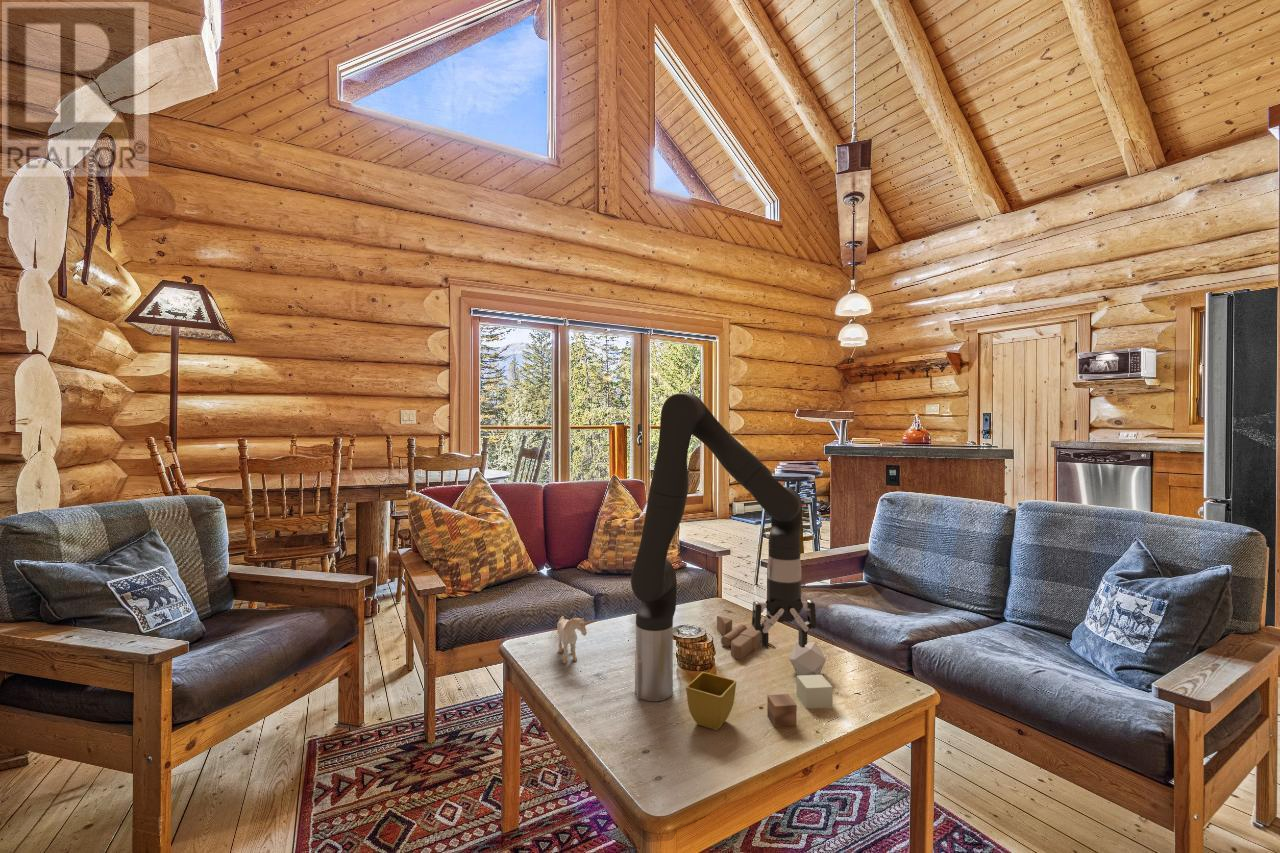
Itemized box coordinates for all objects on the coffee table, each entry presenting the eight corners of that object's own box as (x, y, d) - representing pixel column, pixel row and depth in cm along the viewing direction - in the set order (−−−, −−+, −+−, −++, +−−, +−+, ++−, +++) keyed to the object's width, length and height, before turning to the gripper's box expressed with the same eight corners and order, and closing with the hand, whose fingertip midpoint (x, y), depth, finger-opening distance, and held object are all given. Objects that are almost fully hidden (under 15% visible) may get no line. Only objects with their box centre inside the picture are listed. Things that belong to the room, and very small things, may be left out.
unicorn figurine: (576, 675, 151) (576, 625, 151) (543, 650, 167) (543, 605, 166) (599, 667, 155) (599, 619, 155) (565, 644, 171) (564, 600, 171)
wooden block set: (767, 623, 174) (741, 642, 159) (767, 641, 174) (741, 662, 160) (718, 611, 184) (689, 628, 169) (718, 629, 184) (689, 647, 170)
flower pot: (721, 738, 121) (721, 696, 121) (684, 726, 126) (685, 686, 126) (737, 719, 129) (737, 680, 129) (702, 708, 133) (702, 671, 133)
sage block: (806, 709, 134) (806, 688, 134) (796, 695, 140) (796, 675, 140) (832, 707, 134) (832, 686, 134) (821, 694, 141) (821, 674, 141)
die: (819, 687, 145) (835, 651, 148) (788, 668, 147) (804, 632, 150) (809, 684, 153) (825, 650, 156) (779, 666, 155) (796, 632, 158)
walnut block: (774, 728, 125) (774, 706, 125) (767, 716, 130) (767, 695, 130) (796, 727, 126) (796, 705, 126) (788, 715, 131) (788, 693, 131)
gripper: (758, 582, 124) (758, 655, 124) (821, 580, 125) (820, 652, 126) (748, 572, 132) (748, 641, 132) (807, 570, 133) (807, 639, 133)
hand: (783, 646), depth 129 cm, fingers open, 8 cm apart
